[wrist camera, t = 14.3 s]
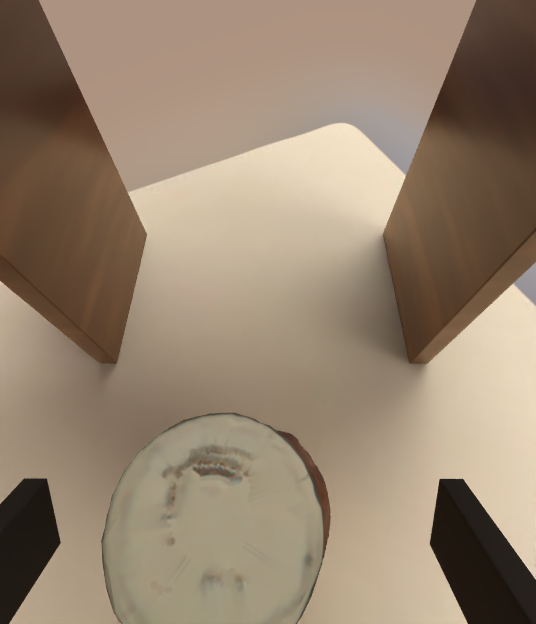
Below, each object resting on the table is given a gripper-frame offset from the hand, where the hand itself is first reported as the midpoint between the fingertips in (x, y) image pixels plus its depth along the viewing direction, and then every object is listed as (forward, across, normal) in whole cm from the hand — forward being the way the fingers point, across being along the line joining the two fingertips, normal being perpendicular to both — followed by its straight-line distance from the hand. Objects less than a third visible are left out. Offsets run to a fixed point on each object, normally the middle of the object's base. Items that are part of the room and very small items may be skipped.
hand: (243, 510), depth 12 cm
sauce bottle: (+10, 0, -9) cm, 14 cm away
